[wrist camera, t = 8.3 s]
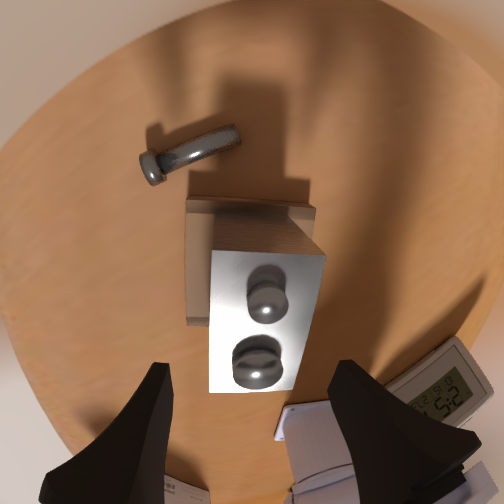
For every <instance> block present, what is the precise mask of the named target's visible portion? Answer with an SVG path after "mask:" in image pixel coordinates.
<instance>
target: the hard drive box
mask: <svg viewBox="0 0 504 504" xmlns="http://www.w3.org/2000/svg"><path fill="white" fill-rule="evenodd" d="M164 496H165V504H210V492H208V491H205V490H202V489H200V488H197V487H194V486H191V485H189V484H186V483H183V482H181V481H179V480H176V479H174V478H172V477H170V476H167V475H165V474H164Z"/></svg>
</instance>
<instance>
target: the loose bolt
mask: <svg viewBox="0 0 504 504" xmlns="http://www.w3.org/2000/svg"><path fill="white" fill-rule="evenodd" d="M240 144H241V141H240V137H239V135H238V132H237V129H236V127H235V125H234V123H233V124H230V125H227V126H224V127H222V128H219V129H216V130H214V131H211V132H208V133H206V134H203V135H201V136H198V137H196V138H193V139H191V140H189V141H186V142H184V143H181V144H179V145H177V146H175V147H172V148H170V149H168V150H166V151H163V152H161V153H159V154H158V153H157V152H156V150H155V149H153V148H152V149H150V150H148V151H146V152H144V153H142V154H140V156H139V161H140V165H141V169H142V171H143V174H144V176H145V178H146V179H147V181H148V182H149V184H150V185H151V186H156V185H158V184H160V183H162V182H165V181H166V180H167V176H166V174H168V173H170V172H173V171H175V170H177V169H179V168H182V167H184V166H186V165H189V164H191V163H194V162H196V161H198V160H201V159H203V158H206V157H208V156H211V155H214V154H216V153H219V152H221V151H224V150H227V149H229V148H232V147H235V146H238V145H240Z"/></svg>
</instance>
